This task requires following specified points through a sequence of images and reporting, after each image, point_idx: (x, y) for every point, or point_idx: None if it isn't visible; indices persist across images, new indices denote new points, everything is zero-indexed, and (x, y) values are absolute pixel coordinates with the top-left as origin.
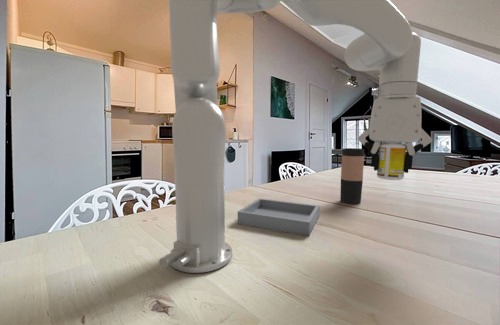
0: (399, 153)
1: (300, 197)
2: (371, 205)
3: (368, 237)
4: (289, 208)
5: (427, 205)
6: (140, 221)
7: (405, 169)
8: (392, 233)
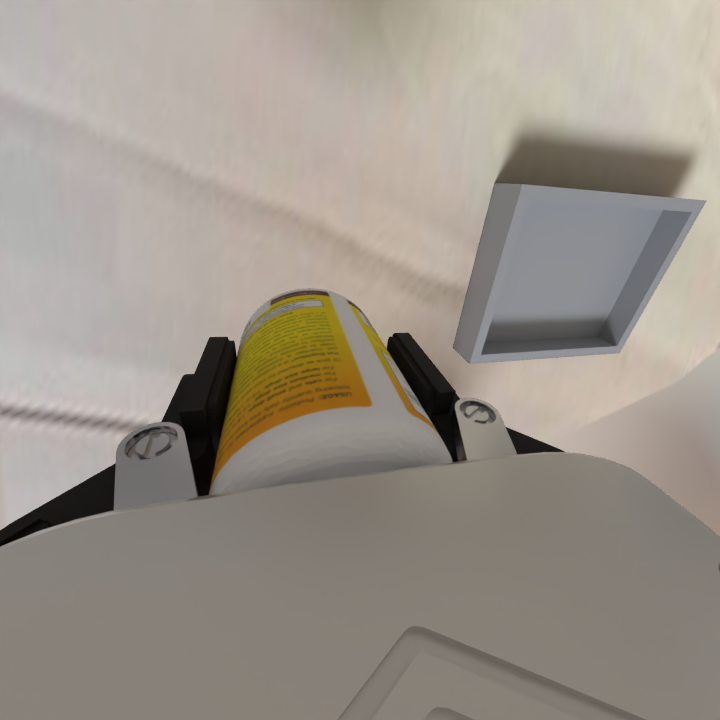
0: (274, 386)
1: None
2: None
3: (337, 246)
4: (534, 342)
5: None
6: None
7: (226, 347)
8: None
